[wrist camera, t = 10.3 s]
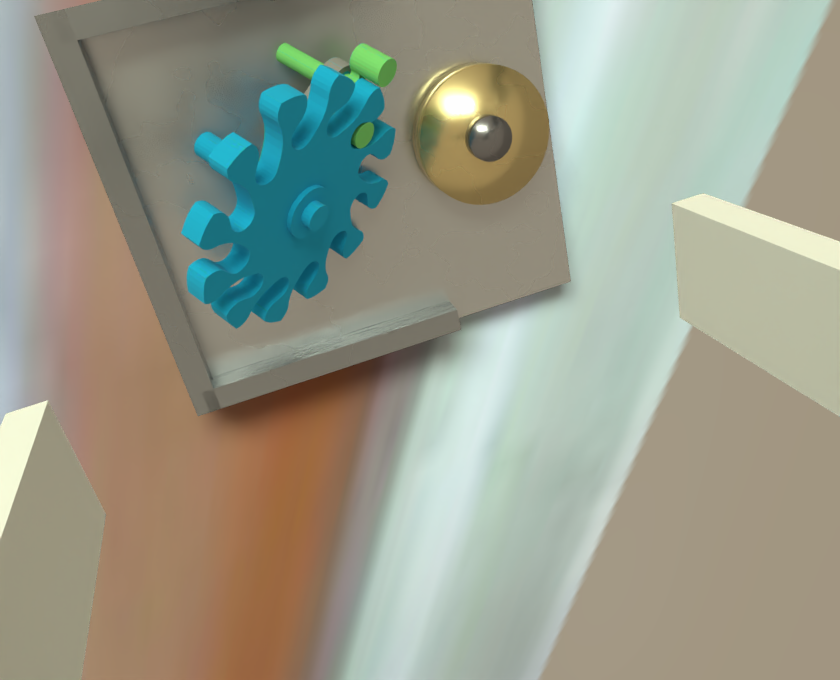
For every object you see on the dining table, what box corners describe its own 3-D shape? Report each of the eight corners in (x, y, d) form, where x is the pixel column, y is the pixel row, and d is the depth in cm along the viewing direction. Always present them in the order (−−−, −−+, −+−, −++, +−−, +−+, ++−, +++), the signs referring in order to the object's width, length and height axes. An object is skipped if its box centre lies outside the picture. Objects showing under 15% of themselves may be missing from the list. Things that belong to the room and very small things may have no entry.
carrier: (506, -94, 30) (537, -104, 28) (559, 273, 37) (588, 293, 35) (45, 15, 28) (31, 16, 25) (196, 391, 35) (198, 422, 32)
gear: (302, 355, 32) (158, 308, 23) (204, 283, 34) (33, 213, 25) (448, 133, 32) (364, -8, 22) (341, 73, 34) (221, -80, 24)
